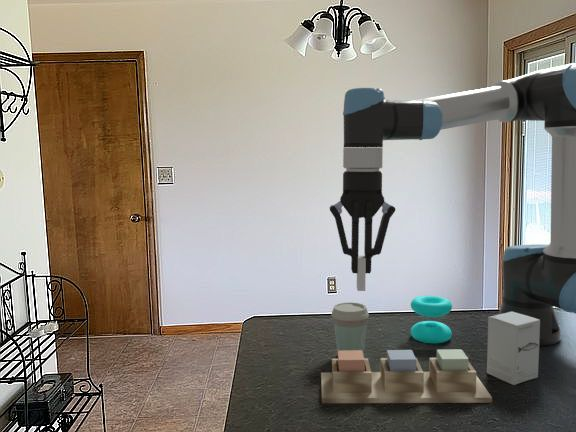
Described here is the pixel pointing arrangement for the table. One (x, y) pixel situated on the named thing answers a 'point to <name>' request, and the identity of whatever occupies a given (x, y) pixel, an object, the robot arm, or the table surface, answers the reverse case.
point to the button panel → (403, 385)
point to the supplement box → (513, 347)
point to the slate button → (401, 360)
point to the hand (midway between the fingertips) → (360, 289)
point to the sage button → (452, 360)
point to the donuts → (431, 329)
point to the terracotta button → (351, 361)
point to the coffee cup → (350, 325)
